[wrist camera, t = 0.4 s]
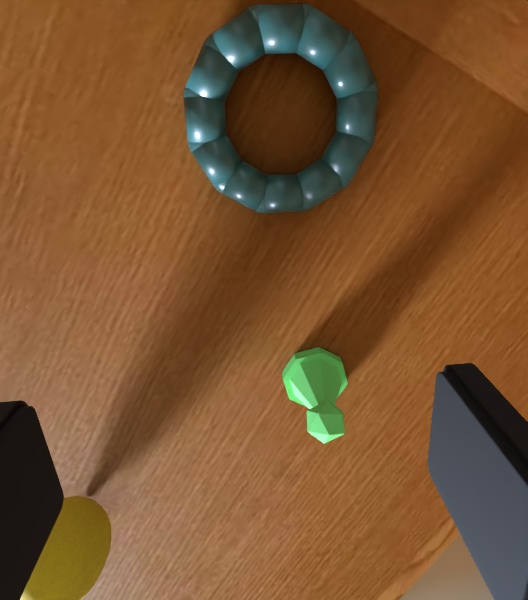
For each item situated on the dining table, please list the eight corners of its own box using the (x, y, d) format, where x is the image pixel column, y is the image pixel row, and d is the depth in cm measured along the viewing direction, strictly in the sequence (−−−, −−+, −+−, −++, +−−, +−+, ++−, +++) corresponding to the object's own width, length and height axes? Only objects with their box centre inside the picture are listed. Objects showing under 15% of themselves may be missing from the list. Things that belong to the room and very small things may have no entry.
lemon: (79, 536, 34) (34, 652, 27) (31, 490, 32) (-32, 602, 25) (138, 508, 33) (108, 621, 26) (92, 460, 31) (45, 567, 24)
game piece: (307, 412, 30) (320, 478, 25) (268, 371, 29) (274, 431, 23) (358, 378, 29) (384, 438, 24) (321, 334, 28) (339, 388, 23)
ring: (178, 11, 21) (171, 1, 19) (376, 6, 21) (389, -5, 19) (196, 211, 25) (192, 219, 23) (365, 205, 25) (375, 212, 23)
